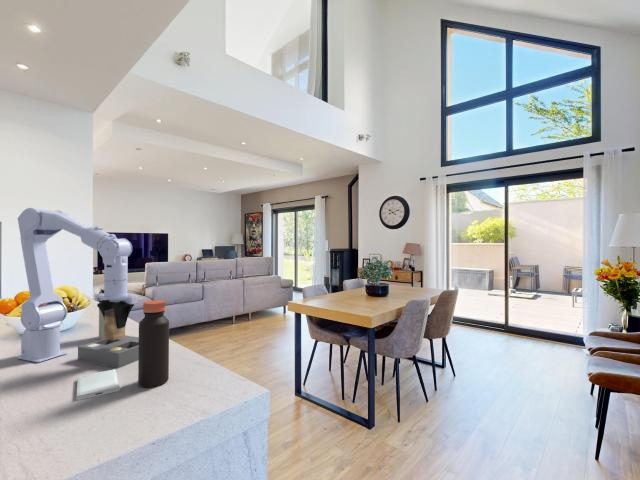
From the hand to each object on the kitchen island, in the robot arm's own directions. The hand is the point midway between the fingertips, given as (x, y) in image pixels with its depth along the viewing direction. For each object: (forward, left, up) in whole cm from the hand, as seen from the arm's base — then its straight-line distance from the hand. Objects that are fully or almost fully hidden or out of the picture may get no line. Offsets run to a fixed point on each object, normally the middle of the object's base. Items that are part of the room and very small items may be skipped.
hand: (115, 327), depth 94 cm
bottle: (+21, -7, -10) cm, 24 cm away
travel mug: (-22, +16, -10) cm, 29 cm away
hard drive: (+10, -13, -11) cm, 19 cm away
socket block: (-3, +3, -10) cm, 11 cm away
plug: (0, 0, -3) cm, 3 cm away
